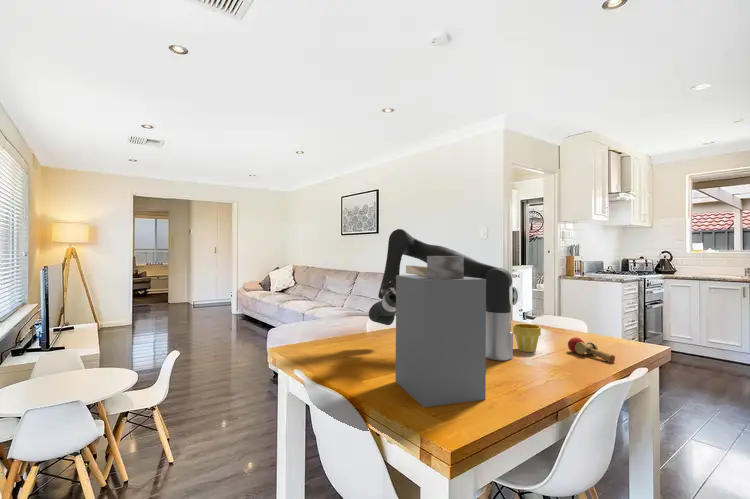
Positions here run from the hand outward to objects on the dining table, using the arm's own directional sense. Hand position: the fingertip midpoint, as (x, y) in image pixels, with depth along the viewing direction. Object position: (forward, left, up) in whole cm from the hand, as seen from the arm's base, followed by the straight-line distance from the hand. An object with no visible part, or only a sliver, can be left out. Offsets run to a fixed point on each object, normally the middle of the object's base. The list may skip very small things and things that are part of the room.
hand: (408, 279), depth 130 cm
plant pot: (-55, -8, -30) cm, 63 cm away
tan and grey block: (0, +15, +2) cm, 15 cm away
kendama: (-72, +7, -30) cm, 78 cm away
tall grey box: (0, +22, -30) cm, 37 cm away
